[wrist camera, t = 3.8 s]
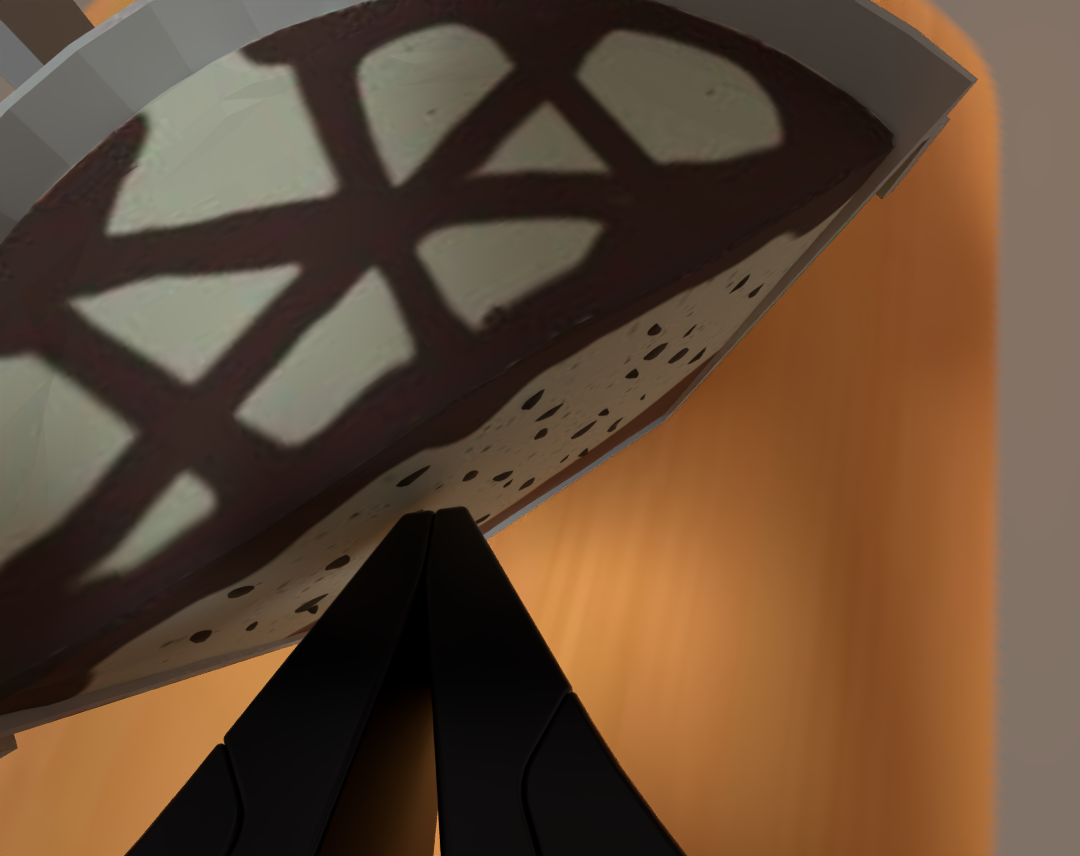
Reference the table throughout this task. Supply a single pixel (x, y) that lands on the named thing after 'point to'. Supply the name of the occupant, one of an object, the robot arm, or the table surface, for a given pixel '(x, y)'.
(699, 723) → the table surface
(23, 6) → the overhang shelf
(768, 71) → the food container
